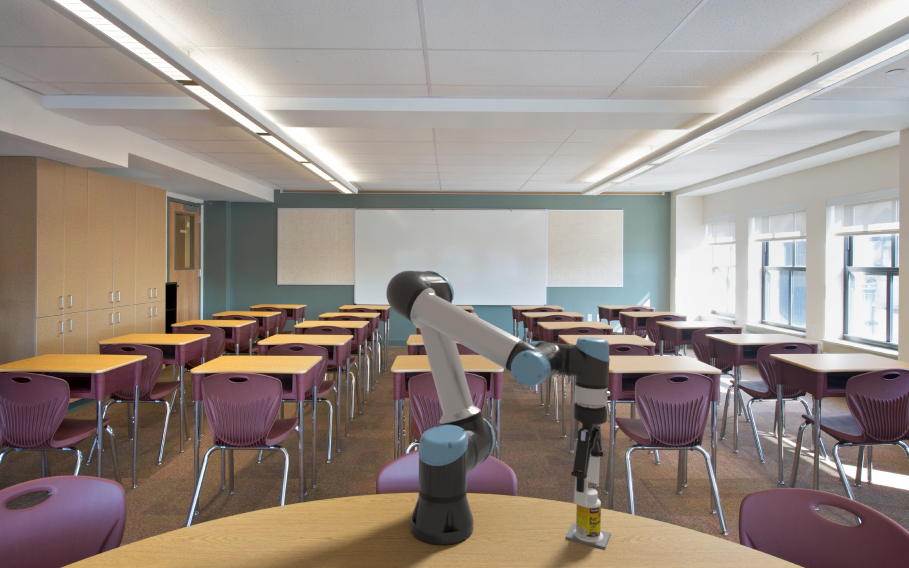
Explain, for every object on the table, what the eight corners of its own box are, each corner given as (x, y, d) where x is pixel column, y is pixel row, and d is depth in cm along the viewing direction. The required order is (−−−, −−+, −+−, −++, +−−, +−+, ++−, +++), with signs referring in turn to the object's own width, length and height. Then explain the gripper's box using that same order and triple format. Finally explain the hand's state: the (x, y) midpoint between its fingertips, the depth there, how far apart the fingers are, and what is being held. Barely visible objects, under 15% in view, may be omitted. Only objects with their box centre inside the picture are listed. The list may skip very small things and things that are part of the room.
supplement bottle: (589, 543, 110) (590, 498, 110) (571, 532, 114) (571, 489, 114) (605, 536, 113) (606, 492, 113) (587, 525, 117) (587, 484, 117)
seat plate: (565, 538, 112) (565, 536, 112) (572, 525, 119) (572, 522, 119) (605, 549, 108) (605, 546, 108) (610, 534, 114) (610, 532, 114)
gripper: (596, 419, 100) (592, 520, 101) (616, 395, 122) (612, 477, 123) (560, 413, 104) (556, 510, 104) (586, 391, 126) (582, 471, 126)
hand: (587, 493), depth 114 cm, fingers open, 13 cm apart
